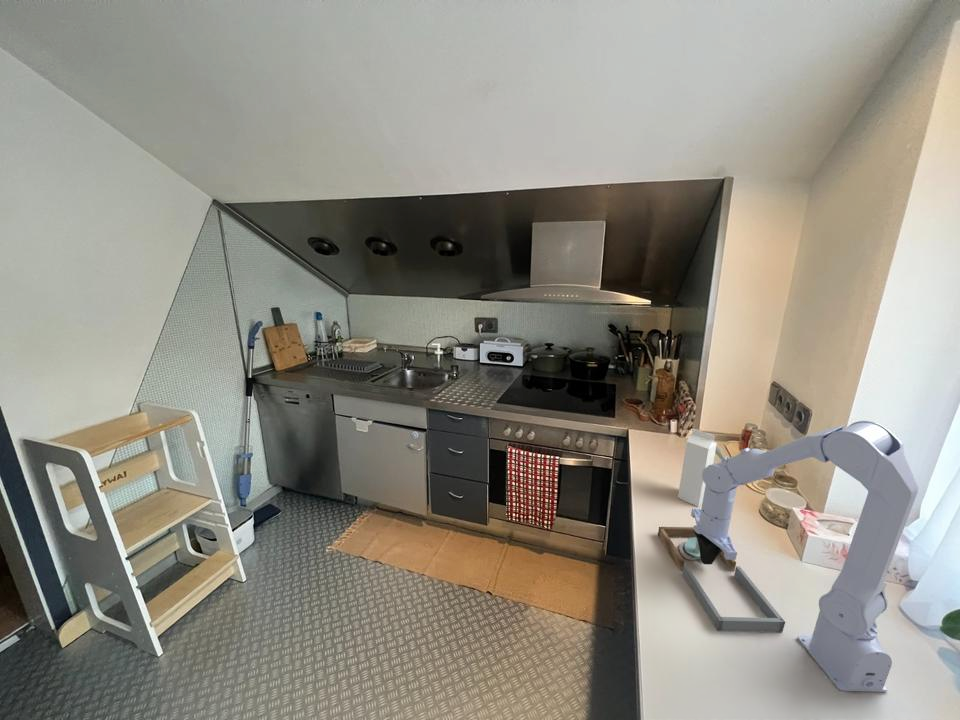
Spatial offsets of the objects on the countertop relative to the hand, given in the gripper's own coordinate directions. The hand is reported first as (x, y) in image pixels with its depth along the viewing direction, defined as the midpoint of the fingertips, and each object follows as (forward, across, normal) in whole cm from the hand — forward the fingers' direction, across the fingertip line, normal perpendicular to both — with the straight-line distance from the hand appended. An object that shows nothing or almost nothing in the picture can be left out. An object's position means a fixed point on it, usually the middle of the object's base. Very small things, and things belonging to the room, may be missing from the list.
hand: (706, 562), depth 90 cm
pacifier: (+2, -5, -1) cm, 5 cm away
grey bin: (+2, +9, 0) cm, 9 cm away
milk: (+2, -27, +11) cm, 29 cm away
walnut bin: (+2, -5, 0) cm, 5 cm away
